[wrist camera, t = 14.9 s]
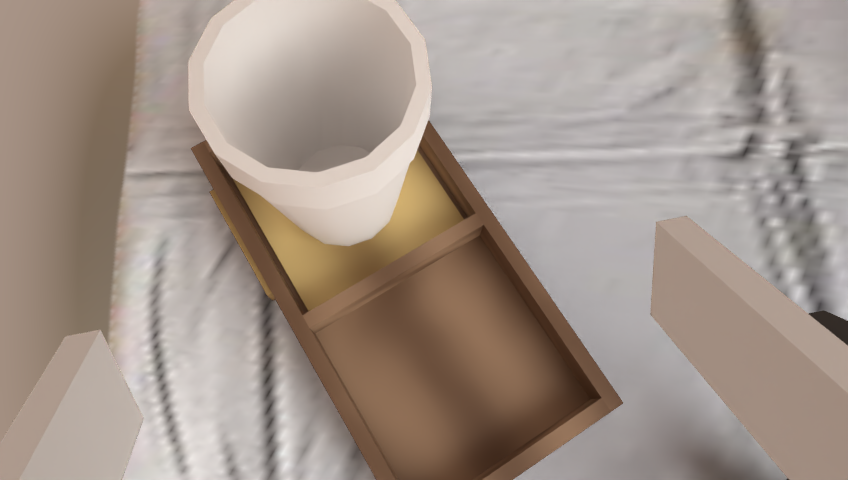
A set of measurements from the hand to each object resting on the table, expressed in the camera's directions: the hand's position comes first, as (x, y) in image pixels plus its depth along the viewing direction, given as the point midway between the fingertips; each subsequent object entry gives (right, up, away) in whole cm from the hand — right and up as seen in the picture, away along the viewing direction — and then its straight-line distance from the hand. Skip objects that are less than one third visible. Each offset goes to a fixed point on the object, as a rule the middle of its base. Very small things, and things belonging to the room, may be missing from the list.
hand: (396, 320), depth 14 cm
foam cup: (-4, +4, +22) cm, 22 cm away
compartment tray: (-1, 0, +21) cm, 21 cm away
